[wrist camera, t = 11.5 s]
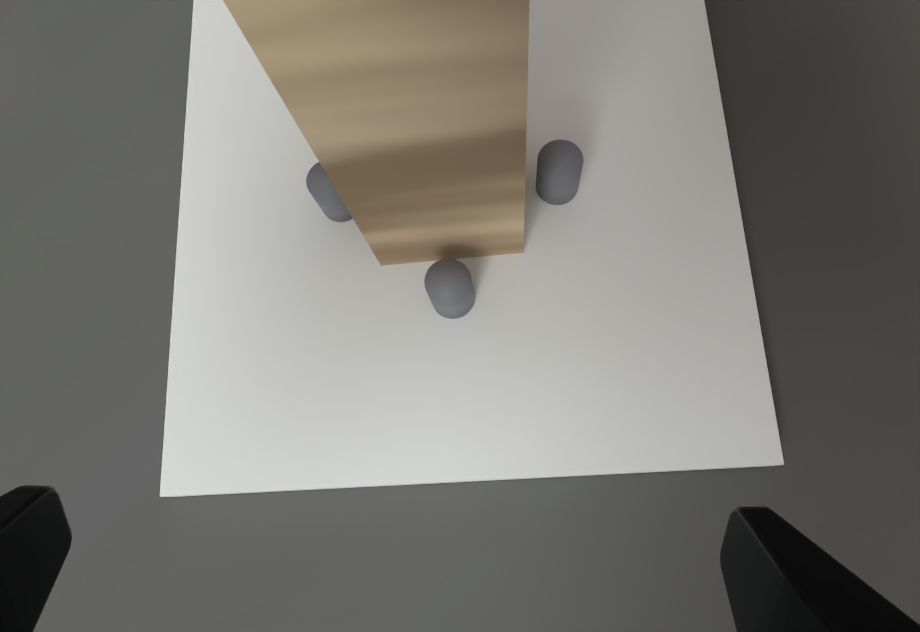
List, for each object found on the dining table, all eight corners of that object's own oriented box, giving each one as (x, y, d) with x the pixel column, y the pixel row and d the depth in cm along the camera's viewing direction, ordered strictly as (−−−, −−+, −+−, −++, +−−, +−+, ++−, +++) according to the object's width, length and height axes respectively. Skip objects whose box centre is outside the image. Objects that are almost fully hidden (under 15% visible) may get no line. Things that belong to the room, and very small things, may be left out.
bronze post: (523, 252, 18) (536, -258, 6) (381, 265, 19) (104, -198, 6) (511, 124, 20) (499, -537, 7) (376, 138, 20) (133, -475, 7)
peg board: (772, 465, 17) (809, 461, 15) (174, 496, 18) (127, 496, 16) (687, -43, 21) (706, -105, 19) (205, 7, 23) (171, -46, 20)
